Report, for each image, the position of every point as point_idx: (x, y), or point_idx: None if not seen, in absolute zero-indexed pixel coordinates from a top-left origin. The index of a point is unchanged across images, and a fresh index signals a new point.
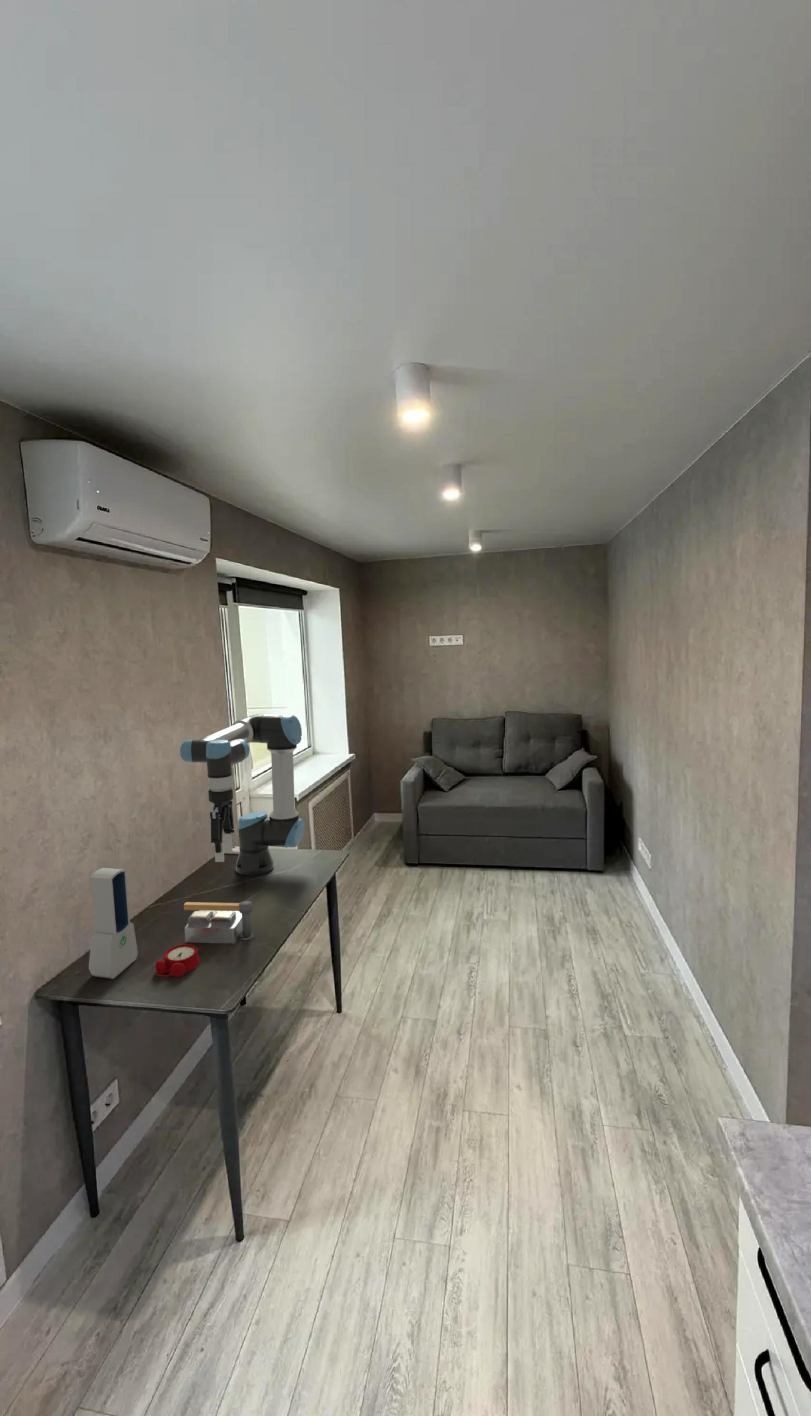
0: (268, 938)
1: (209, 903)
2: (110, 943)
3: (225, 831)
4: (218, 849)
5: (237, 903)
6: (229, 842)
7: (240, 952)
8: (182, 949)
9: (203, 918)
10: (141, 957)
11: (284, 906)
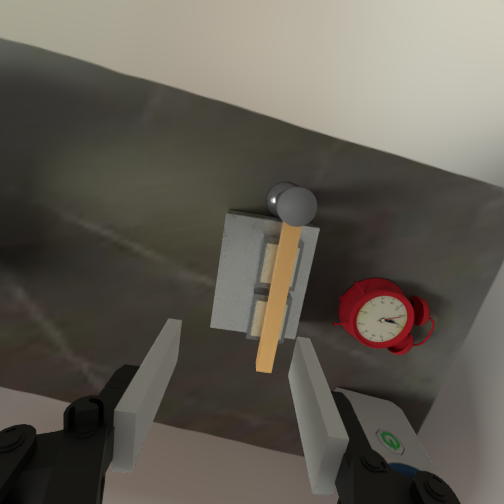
0: (299, 147)
1: (273, 311)
2: (432, 463)
3: (101, 476)
4: (353, 420)
5: (285, 233)
6: (159, 372)
7: (349, 204)
8: (366, 320)
9: (288, 309)
10: (330, 380)
11: (133, 123)
